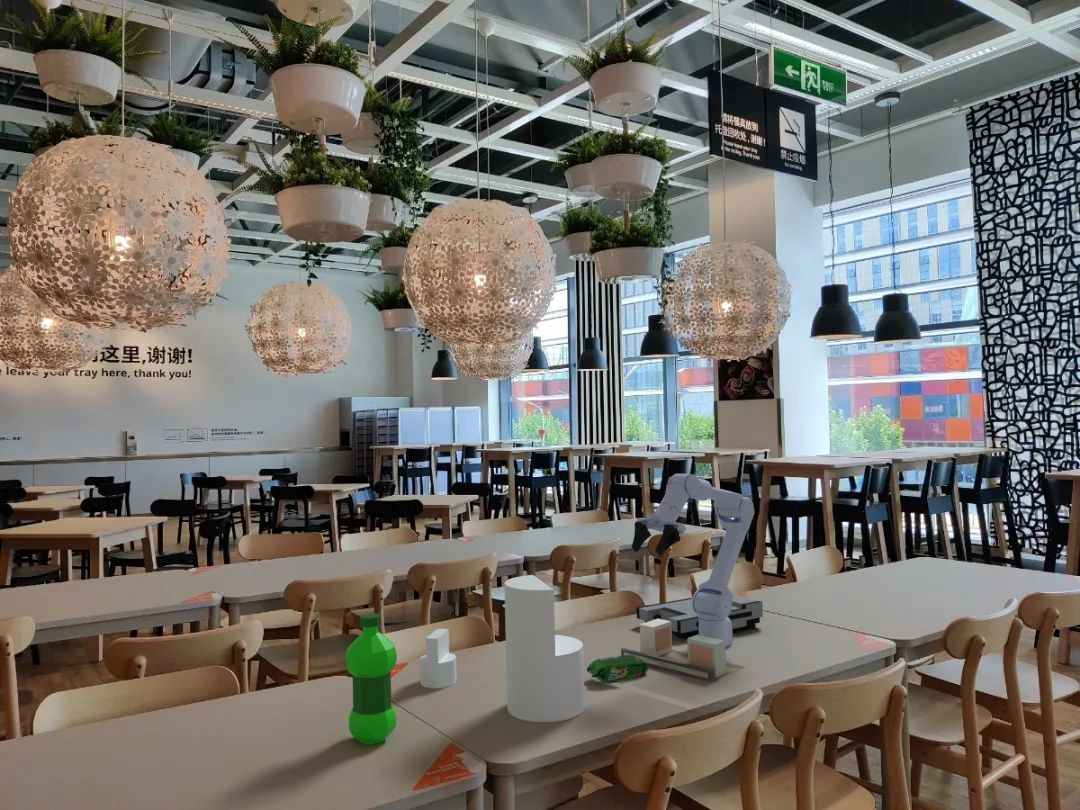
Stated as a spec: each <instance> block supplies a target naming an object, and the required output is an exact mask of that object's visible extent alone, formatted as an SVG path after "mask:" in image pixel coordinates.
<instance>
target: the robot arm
mask: <svg viewBox="0 0 1080 810" xmlns="http://www.w3.org/2000/svg"><path fill="white" fill-rule="evenodd" d="M705 479H706V478H705V477H703V476H697V475H696V474H695V473H694V474H691V473H675V474H673V475H671V476H669V477H668V480H667V487H666V490H665V495H664V496H663V498H662V500H661V501H660V503H659V505H658V507H657V508H656V510H655V511H654V512H653V513H652V514H651V516H648V517H643V518H642V517H641V518H637V519H636V521H635V522H634V535H633V540H632V544H631V548H632V550H633V551H634V552H635V553H637V552H639V551H640V549H641V547H642V546H643V545H644V543H645V542H646V541H647V540H648V539H649V538H650V537H652V534H651V532H650V531H649V530H655V531H657V532H660V533H662V535H661V537H660V539H659V541H658V543H657V545H656V547H655V552H656V554H657V555H658V556H659V557H661V556H662V555H664V553H665V552H666V551H667V550H668V549H669V548H670V547H672V546H673V545H675V544H677V543H678V542H680V541H681V539H682V538H681V536H680V535H684V534H685V532H686V531H687V527H686V526H685V524H684V523H680V522H676V521H677V520H678V518H679V516H680V514H681V513H682V511H683V509H684V507H685V505H686V503H687V501H688V500H689V498H690V499H694V500H697V501H701V502H703V501H706V500H708V499H709V500H712V501H713V507H714V510H715V514H716V516H717V519H718V521H719V524H720V525H721V528H723V529H724V530H725V531H726V532H725V535H724V536H723V541H722V543H721V546H720V549H719V552H718V554H717V556H716V559H715V562H714V565H713V568H712V570H711V574H710V576H709V579H707V580H706V581H704V582H702V583H701V584H699V585H698V588H697V590H696V591H695V592H694V593H693V595H692V597H691V598H692V608H693V610H694V612H695V613H696V616H697V617H699V635H702V636H706V637H711V638H716V639H721V640H725V649H726V648H727V647H730V646H732V645H734V643H733V633H732V623H731V621H730V619H729V618H728V616H729V614H730V612H731V608H732V599H733V595H732V594H733V592H732V591H731V590H730V588H729V584H730V581H731V577H732V575H733V572H734V569H735V566H736V563H737V560H738V558H739V556H740V552H741V549H742V546H743V543H744V541H745V538H746V534H747V531H748V530H749V529H750V526H751V523H752V521H753V519H754V515H755V507H754V503H753V501H752V499H751V498H750V497H749V496H748V497H747V496H746V497H745V495H743V494H740V493H737V492H734V491H730V490H726V489H723V488H717V487H714V486H712V484H711V483H710V481H708V480H705Z"/></svg>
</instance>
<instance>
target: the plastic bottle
mask: <svg viewBox="0 0 1080 810" xmlns="http://www.w3.org/2000/svg"><path fill="white" fill-rule="evenodd" d="M359 617H360V618H359V619H360V620H359V624H360V625H359V626H360V627H361V628H362V633H361V634H360V635H359V636H358V637H357V638H355V639H354V640H353V642H351V644H349V646H348V647H347V649H346V652H345V665H346V670H347V672H348V673H349V674H350V675H352V708H351V710H350V713H349V715H348V729H349V731H350V732H349V733H350V735H352V736H353V738H355V739H356V740H358V741H359V742H360V743H361V742H362V744H364V745H376V744H379V743H382V742H383V741H385V740H386V738H387V737H388V736H389V735H390V734H391V733H392V732H394V730H395V728H396V724H397V716H396V715H397V714H396V711H395V708H394V706H393V705H392V683H391V682H392V677H391V675H392V674H391V672H392V671H393V669H394V668H395V667H396V665H397V658H398V657H397V655H398V654H397V653H398V652H397V650H396V647H395V644H394V641H392V640H391V639H390V638H388V637H387V636H386V635H385V634H383V633H381V632H380V631H379V627H380V626H381V625H382V615H381V613H365V614H362V615H360V616H359ZM375 743H376V744H375Z"/></svg>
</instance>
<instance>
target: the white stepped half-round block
mask: <svg viewBox="0 0 1080 810" xmlns="http://www.w3.org/2000/svg"><path fill="white" fill-rule="evenodd" d="M449 630H450V629H449V628H436V629H435V630H434V631H433V632H432V633H431V634H429V635H427V636H426V638H425V648H426V649H425V654H424V655H422V656H420V658H419V679H420V681H419V682H420V683H419V684H421V685H422V686H421V685H420V686H421V687H423V686H424V688H426V687H427V688H426V689H444V688H448V687H452V686H454V685H455V684H457V677H458V676H457V656H456V655H455V654H454V653H451V652H450V632H449Z"/></svg>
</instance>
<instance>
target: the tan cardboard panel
mask: <svg viewBox="0 0 1080 810" xmlns="http://www.w3.org/2000/svg"><path fill="white" fill-rule="evenodd" d="M625 655H634V656H636V657H638V658H640V659H642V660H643V661H644V662H645V663H646V666H647V667H652V668H657V669H660V670H663V671H668V672H672V673H675V674H678V675H679V674H680V675H683V676H687V677H689V678H693V679H699V680H702V681H706V682H710V683H713V682H715V681H718V680H720V679H722V678H724V677H727V676H729V675H731V674H734V673H736V672H737V671H740V670H742V669H744V668H745V666H742V665H738V664H735V663H729V662H726V673H725V674H723V675H721V676H719V677H716V678H715V677H714V670H710V669H706V668H702V667H698V666H694V665H690V664H688V652H683V651H679V650H675V649H672V651H671V652H668V653H665V654H663V655H660V656H654V655H650V654H646V653H642V652H640V651H637V650H634V649H630V648H625V647H622V648H620V656H625Z"/></svg>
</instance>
